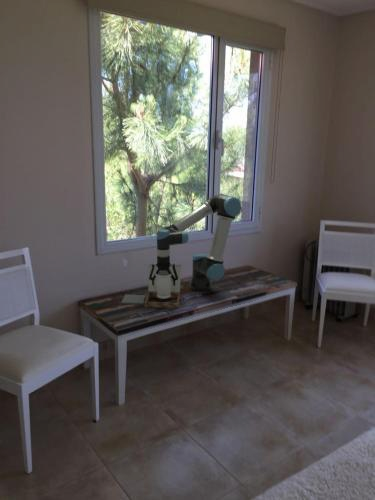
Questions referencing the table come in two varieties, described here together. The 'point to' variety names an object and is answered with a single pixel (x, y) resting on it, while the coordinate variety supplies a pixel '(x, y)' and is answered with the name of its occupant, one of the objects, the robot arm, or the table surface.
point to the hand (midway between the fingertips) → (163, 290)
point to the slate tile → (133, 299)
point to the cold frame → (162, 304)
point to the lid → (177, 282)
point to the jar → (163, 284)
